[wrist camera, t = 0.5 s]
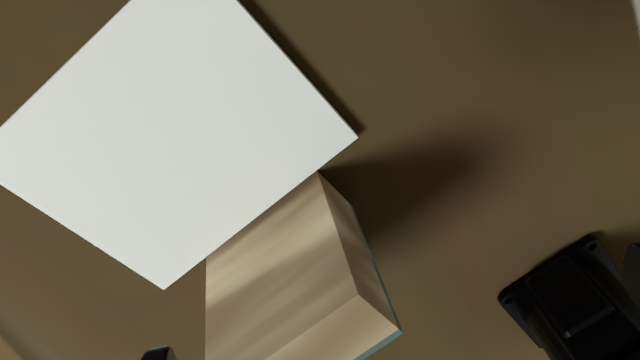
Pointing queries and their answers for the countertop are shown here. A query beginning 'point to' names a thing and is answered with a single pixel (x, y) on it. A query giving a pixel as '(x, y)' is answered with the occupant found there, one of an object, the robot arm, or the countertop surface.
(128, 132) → the flat white panel
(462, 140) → the countertop surface
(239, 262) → the beige and teal box
